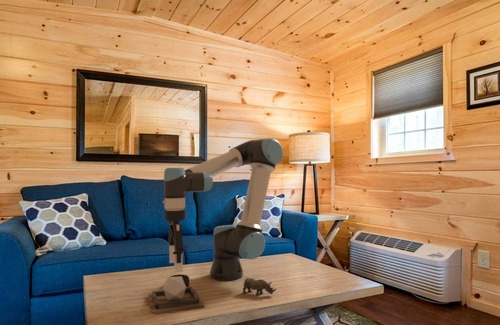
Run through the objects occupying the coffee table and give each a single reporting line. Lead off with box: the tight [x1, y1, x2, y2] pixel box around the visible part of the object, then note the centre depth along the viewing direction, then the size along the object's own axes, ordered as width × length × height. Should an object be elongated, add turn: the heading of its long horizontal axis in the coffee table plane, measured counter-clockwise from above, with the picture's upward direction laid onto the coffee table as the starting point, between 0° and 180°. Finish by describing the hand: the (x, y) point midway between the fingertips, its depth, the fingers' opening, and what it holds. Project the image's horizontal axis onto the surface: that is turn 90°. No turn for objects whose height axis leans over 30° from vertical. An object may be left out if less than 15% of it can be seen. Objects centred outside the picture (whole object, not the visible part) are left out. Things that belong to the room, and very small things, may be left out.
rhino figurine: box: [241, 277, 277, 296], centre depth 137 cm, size 4×14×6 cm, turn 67°
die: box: [162, 276, 187, 301], centre depth 129 cm, size 8×9×10 cm
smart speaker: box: [169, 274, 190, 288], centre depth 147 cm, size 9×9×4 cm
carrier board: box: [147, 286, 205, 315], centre depth 129 cm, size 18×18×2 cm
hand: (175, 267), depth 129 cm, fingers open, 13 cm apart
